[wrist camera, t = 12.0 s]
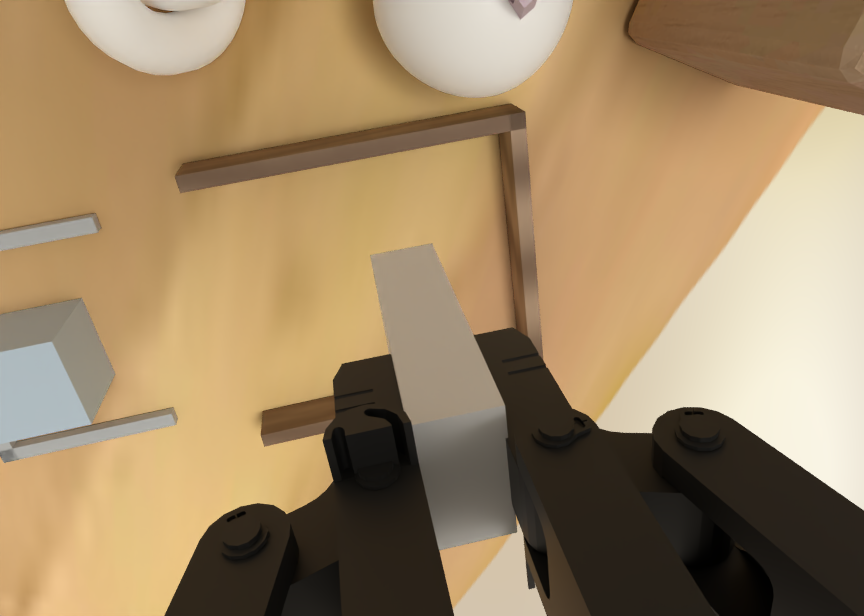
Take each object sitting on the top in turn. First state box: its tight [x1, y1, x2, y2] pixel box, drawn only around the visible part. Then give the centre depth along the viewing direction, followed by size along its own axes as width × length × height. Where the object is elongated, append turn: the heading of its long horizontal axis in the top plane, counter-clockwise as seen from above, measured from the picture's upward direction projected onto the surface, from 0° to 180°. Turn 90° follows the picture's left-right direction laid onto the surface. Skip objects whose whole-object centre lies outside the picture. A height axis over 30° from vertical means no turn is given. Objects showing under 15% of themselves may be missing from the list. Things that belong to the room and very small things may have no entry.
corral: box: [0, 213, 178, 463], centre depth 44 cm, size 16×12×1 cm
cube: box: [0, 298, 115, 444], centre depth 42 cm, size 6×6×6 cm
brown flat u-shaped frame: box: [175, 104, 543, 447], centre depth 45 cm, size 20×21×3 cm
